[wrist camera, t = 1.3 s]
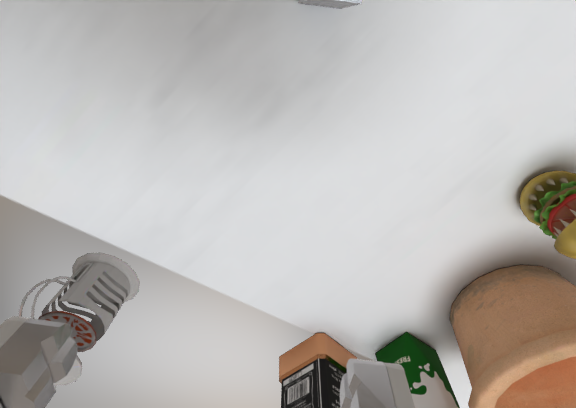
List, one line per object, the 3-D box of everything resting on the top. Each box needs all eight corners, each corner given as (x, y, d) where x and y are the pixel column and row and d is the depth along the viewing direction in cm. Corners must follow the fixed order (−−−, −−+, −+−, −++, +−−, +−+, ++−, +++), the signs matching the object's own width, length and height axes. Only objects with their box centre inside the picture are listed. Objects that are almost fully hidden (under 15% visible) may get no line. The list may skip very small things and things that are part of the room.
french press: (96, 308, 52) (-51, 517, 30) (50, 251, 47) (-169, 455, 25) (151, 296, 50) (39, 508, 29) (110, 235, 45) (-67, 439, 23)
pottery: (623, 266, 45) (748, 361, 33) (529, 364, 56) (596, 465, 43) (478, 232, 43) (551, 320, 31) (408, 341, 54) (442, 439, 41)
